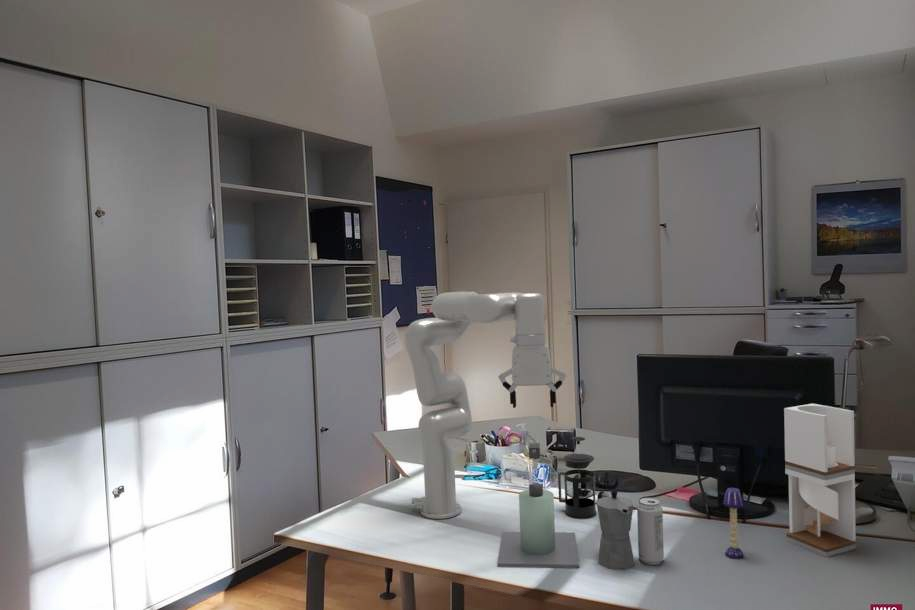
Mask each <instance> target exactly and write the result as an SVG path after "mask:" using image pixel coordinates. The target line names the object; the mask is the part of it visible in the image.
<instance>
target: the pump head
mask: <svg viewBox="0 0 915 610" xmlns="http://www.w3.org/2000/svg"><path fill="white" fill-rule="evenodd" d="M528 459H530V460H531V459H532V469H534V470H537V469H538V459H541V443H540V442H534V443H533V442H529V443H528Z"/></svg>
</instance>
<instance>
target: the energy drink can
mask: <svg viewBox="0 0 915 610" xmlns="http://www.w3.org/2000/svg"><path fill="white" fill-rule="evenodd" d="M636 510H637V511H636V512H637V516H636V517H637V545H638V546H637V547H638V549H637V551H638V558H639V559H640V561H641V562H642V563H643V564H647V565H653V566H655V565H659V564H661V563H662V561H663V560H664V559H665V555H664V554H665V553H664V548H665V547H664V521H663V520H664V519H663V518H664V517H663V515H664V513H663V507H662V505H661V503H660V500H659V499H658V498H653V497H642V498H641V499H639V502H638V505H637V508H636Z"/></svg>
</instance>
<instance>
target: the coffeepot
mask: <svg viewBox="0 0 915 610" xmlns="http://www.w3.org/2000/svg"><path fill="white" fill-rule="evenodd" d="M610 493H611V496H610V494H609V493H608V492H605V491H603V490H601V491H599V492H598V494H597V497H596V498H597V499H595V504H596V508H597V514H598V521H599V525H600V530H601V535H600V541H599V547H598V548H599V549H598V554H597V555H598V556H597V557H598V564H600V566H602V567H604V568H607V569H611V570H625V569H626V570H627V569H629V568H630V569H631V567H633V566H635V564H636V563H635V559H634V554H633V547H632V544H631V538H630V537H631V536H630V531H631V529H632V528H631V527H632V526H631V525H632V520H633V510H634V503H633V500H632V499H629V498H625V497H623V496H618V490H615V489H613V490H611V491H610Z"/></svg>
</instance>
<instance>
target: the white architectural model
mask: <svg viewBox="0 0 915 610" xmlns="http://www.w3.org/2000/svg"><path fill="white" fill-rule="evenodd" d="M783 412H784V413H783V416H784V422H783V423H784V426H783V427H784V467H785V469H784V470H785V471H784V473H785V475H788V509H789V510H788V511H789V512H788V513H789V514H788V515H789V517H788V518H789V520H788V521H789V522H788V523H789V532H786V535H785V536H786V541H787V542H789V543H791V544H793V545H796V546H798V547H800V548H804V549H805V550H808V551H810V552H812V553H815V554H818V555H819V556H822V557H824V558H828V557H832V556H835V555H838V554H842V553H845V552H849V551H852V550H855V549H857V548H856V546H857V545H856V543H857V542H856V539H857V537H856V480H855V478H856V474H855V473H856V472H855V469H856V468H855V467H856V466H855V461H856V460H855V417H854V416H855V411H854V410H850V409H846V408H845V409H844V408H840V407H835V406H834V407H833V406H830V405H824V404H823V405H822V404H817V403H808V404H803V405H796V406H789V407H784V408H783Z"/></svg>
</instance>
